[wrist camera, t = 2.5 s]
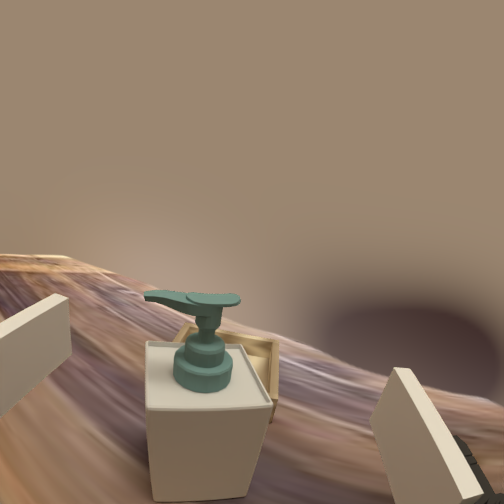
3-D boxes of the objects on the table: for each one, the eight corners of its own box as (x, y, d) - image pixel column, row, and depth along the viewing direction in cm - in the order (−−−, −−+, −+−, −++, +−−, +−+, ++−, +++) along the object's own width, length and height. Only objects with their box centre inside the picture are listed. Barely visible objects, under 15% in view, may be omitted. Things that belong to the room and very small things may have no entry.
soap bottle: (146, 438, 27) (146, 270, 23) (225, 437, 30) (253, 278, 26) (151, 502, 19) (141, 320, 15) (246, 497, 22) (295, 325, 18)
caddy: (274, 361, 48) (279, 340, 47) (271, 423, 34) (278, 399, 33) (183, 343, 49) (185, 322, 48) (151, 397, 34) (151, 372, 34)
